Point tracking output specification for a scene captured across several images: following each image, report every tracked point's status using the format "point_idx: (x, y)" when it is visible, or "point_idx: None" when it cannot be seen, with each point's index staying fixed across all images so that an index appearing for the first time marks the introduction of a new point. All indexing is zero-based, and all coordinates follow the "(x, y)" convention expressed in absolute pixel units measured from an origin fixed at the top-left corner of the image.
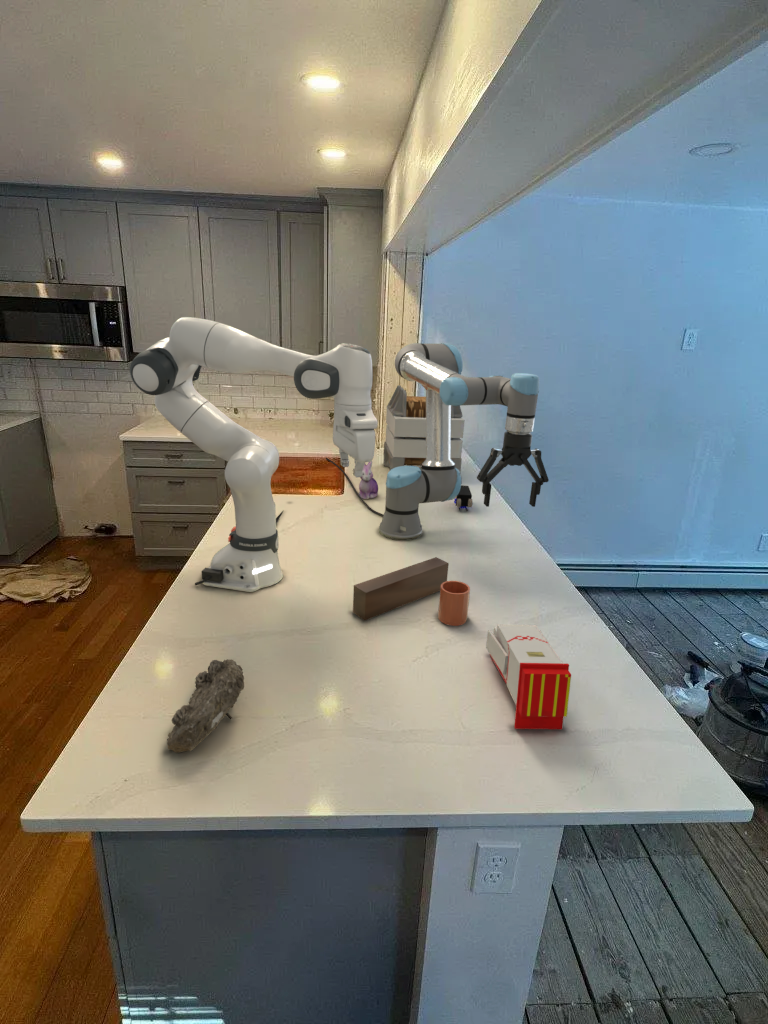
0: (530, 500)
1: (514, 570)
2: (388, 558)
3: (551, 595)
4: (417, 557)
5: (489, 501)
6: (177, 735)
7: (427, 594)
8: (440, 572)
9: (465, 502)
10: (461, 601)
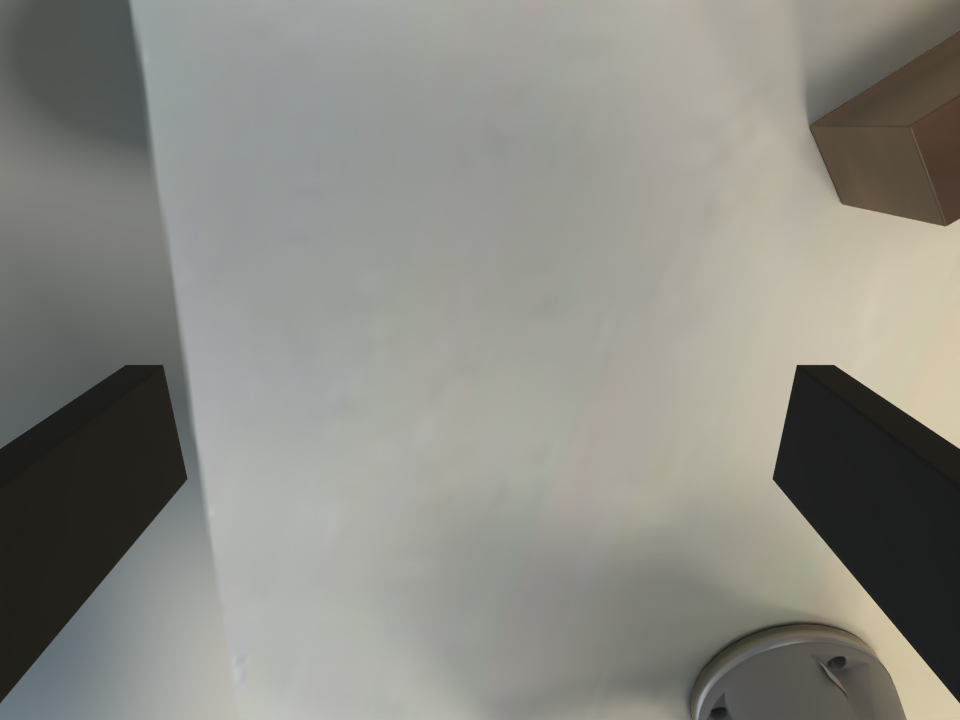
0: (154, 484)
1: (377, 319)
2: None
3: (254, 11)
4: None
5: (841, 398)
6: None
7: (956, 36)
8: (945, 84)
9: None
10: None
